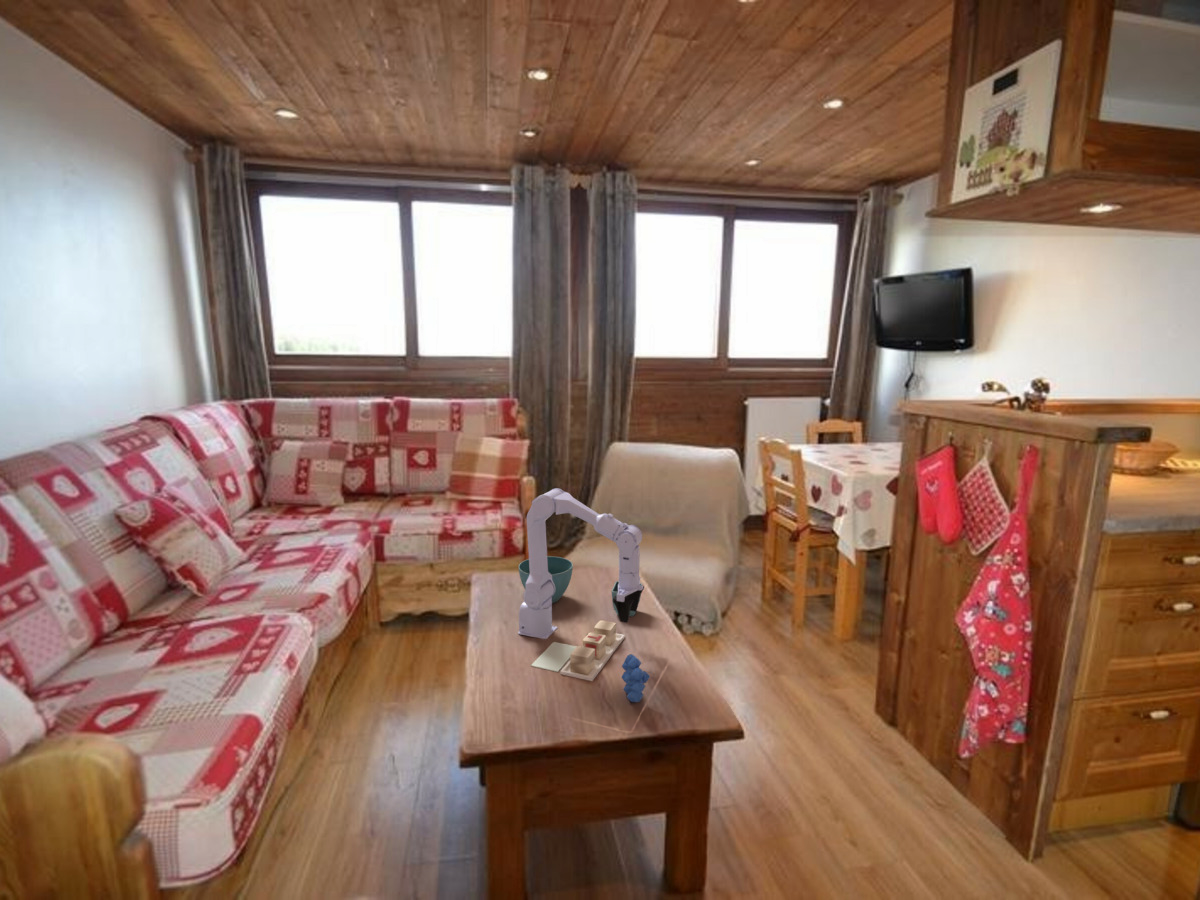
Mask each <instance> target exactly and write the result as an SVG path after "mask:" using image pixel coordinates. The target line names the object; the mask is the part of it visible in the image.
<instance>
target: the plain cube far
mask: <svg viewBox="0 0 1200 900" xmlns="http://www.w3.org/2000/svg"><path fill="white" fill-rule="evenodd" d="M593 633H596V634H601V635H606V646H609V647H610V646H611V645H612V644H613V642H614V641H615V640H616V633H617V622H613V621H607V620H603V619H600V620H599V621H598V622H597V623H596V624H595V626H594V627H593Z"/></svg>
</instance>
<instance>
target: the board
mask: <svg viewBox="0 0 1200 900" xmlns="http://www.w3.org/2000/svg"><path fill="white" fill-rule="evenodd" d="M577 646H578V645H577ZM577 646H576V645H572V644H571V645H570V644H566V643H562V642H556V641H553V642H552V643H551V644H550V645H549V646H548V647H547V648H546V650H544V651H543V652H542V653H541V655H539V657H537V658H536V659H535V661H533V662H532V664H531V665H530V667H532V668H537V669H541V670H546V671H551V672H555V673H559V672H560V671H561V670H562V669H563V667H564V666H565V665H566V664H567V663H568V662H569V661H570V654H571V653H572V652H573V651H574V649H575V648H576V647H577Z"/></svg>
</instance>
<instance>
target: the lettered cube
mask: <svg viewBox="0 0 1200 900" xmlns="http://www.w3.org/2000/svg"><path fill="white" fill-rule="evenodd" d="M582 646H583V647H588V648H593V649H595V660H599V661H600V659H601V658H602V657H603V655H604V654H605V653H606V635H601V634H596V633H594V632H592V631H591V632H588V634H587V635H586V636H585V637H584V638H583V639H582Z"/></svg>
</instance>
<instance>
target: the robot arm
mask: <svg viewBox="0 0 1200 900" xmlns="http://www.w3.org/2000/svg"><path fill="white" fill-rule="evenodd" d="M554 513H555V515H556V516H557V515H561V514H562V515H563V514H570V515H572V516H574V517H577V518H578V519H580V520H582V521H585V522H586V523H589V524H590V525H592V526H593V528H594V530H595V532H597V533H598V534H600V535H602V536H603V537H605V538H607V539H609V540H610V541H612V542H613V543H615V545H616V546H617V548H618V581H619V584H618V593H617V596H614V597H613V602H614V604H615V606H616V608H617V611H618V615H617V616H618V618H619V622H621V623H626V624H627V623H628V622H629V618H630V616H629V614H630V611H636V610H637V611H638V607H639V604H640V601H639V599H640V600H641V597H640V596H641V595H642V593H643V591H644V589H645V586H644V585H643V584H642V585H640V583H641V576H640V559H641V557H640V547H641V546H640V544H641V542H642V541H643V532H642V531H641V529H640V528H639V527H638V526H636V524H630V525H629V524H628V523H626V522H622V521H620V520H619V519H617V518H616V517H614V515H613V514H612V513H601V514H600V513H598V512H596V511H595V510H593V509H591V508H590V507H588V506H587V505H585V504H584V503H582V502H581V501H579V500H578V499H576V498H574V497H573V496H572V495H571V494H570V493H569V492H567V491H564V490H562V489H561V488H557V487H555V488H552V489H550V490H549V491H547V492H545V493H544V494H541V495H538V496H536V497H535V498H534V499H533V500H532V501H531V507H530V508H529V510H528V512H527V514H526V528H527V529H526V532H527V546H528V547H527V548H528V550H527V551H528V559H529V569H530V575H529V577H528V579H527V582H526V584H525V585H526V589H525V588H524V592H523V595H522V596H523V602H522V603H521V605H520V606H519V610H518V631H517V634H518V635H522V636H526V637H532V638H538V639H542V640H547V639H548V638H549V637H550V636H552V634H553V633H555V631H556V630H557V629H558V626H555V625H553V608H552V607H553V603H552V597H551V596H553V595H554V593H555V585H554V583H553V580H552V575H551V574H550V573H549V572H548V562H547V556H548V546H547V544H548V543H547V528H546V527H547V525H546V524H547V523H546V520H548V519H549V518H550V517H551V516H552V515H553V514H554ZM613 602H612V603H613ZM638 603H639V604H638ZM637 611H636V612H637Z"/></svg>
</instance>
